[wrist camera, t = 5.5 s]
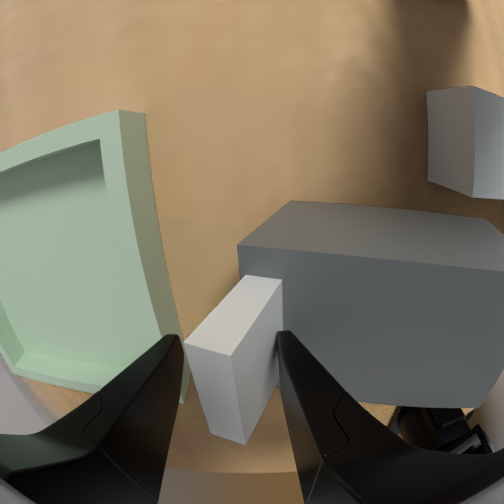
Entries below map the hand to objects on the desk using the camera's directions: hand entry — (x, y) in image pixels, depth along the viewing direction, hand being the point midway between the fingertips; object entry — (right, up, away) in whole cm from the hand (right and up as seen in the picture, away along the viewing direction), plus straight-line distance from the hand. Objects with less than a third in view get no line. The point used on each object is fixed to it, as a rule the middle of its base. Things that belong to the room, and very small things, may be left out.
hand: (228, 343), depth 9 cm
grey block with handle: (+7, +2, +4) cm, 9 cm away
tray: (-12, +2, +6) cm, 14 cm away
